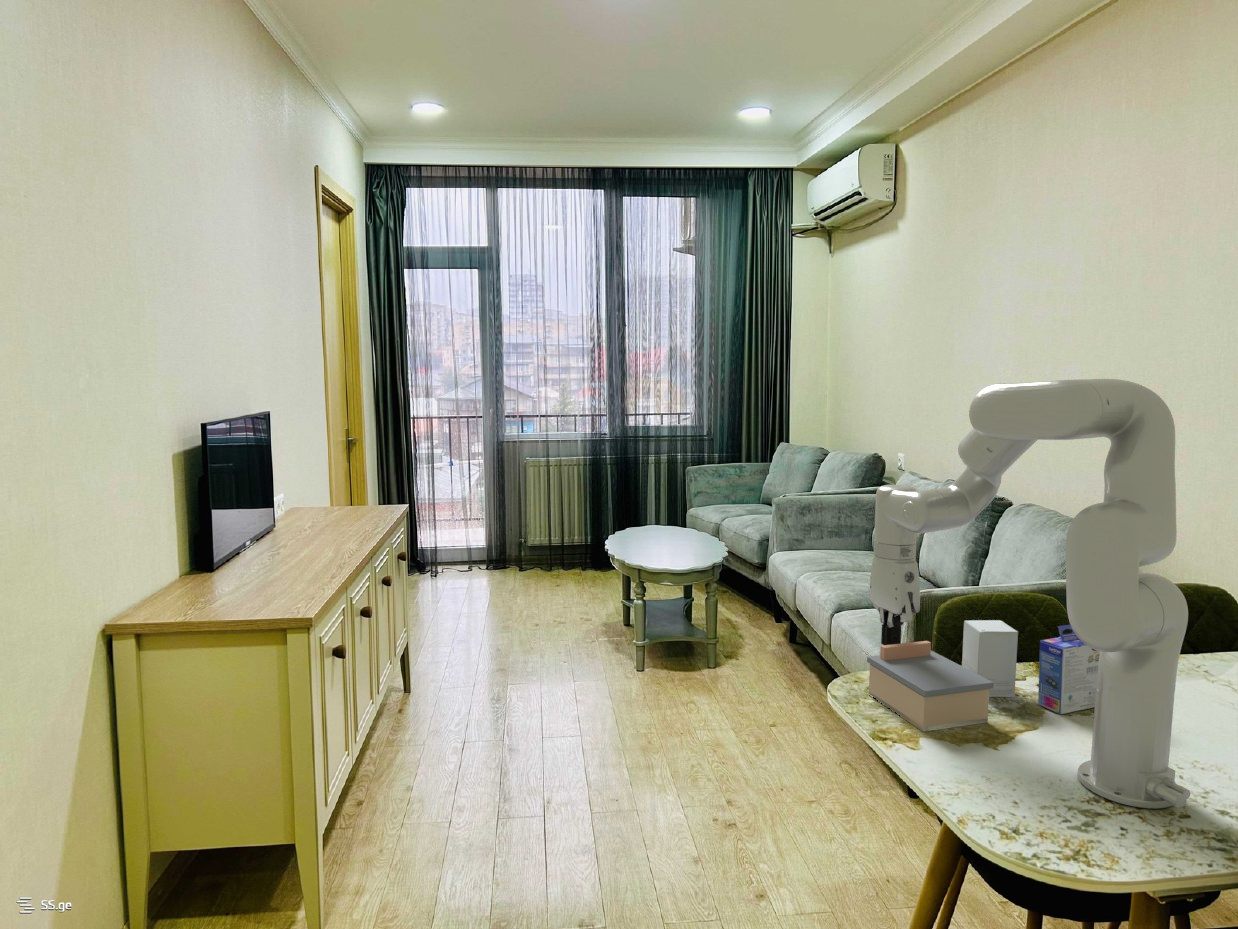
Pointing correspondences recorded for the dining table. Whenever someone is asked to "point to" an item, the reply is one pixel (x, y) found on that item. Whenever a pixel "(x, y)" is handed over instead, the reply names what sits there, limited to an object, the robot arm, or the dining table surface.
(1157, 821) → the dining table surface
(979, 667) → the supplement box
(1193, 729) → the dining table surface
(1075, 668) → the ink cartridge box
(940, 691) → the lid
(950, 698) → the box
